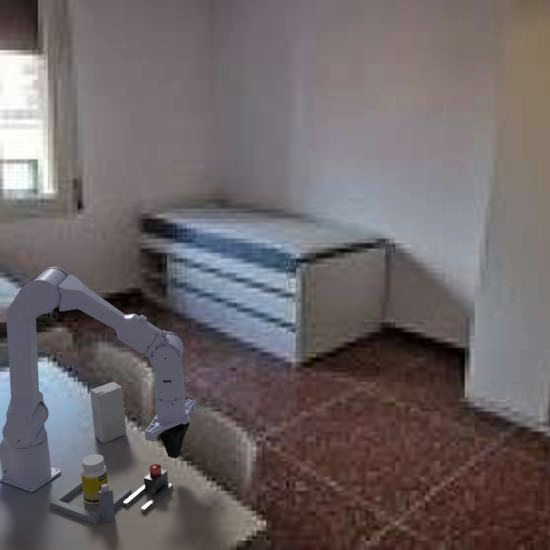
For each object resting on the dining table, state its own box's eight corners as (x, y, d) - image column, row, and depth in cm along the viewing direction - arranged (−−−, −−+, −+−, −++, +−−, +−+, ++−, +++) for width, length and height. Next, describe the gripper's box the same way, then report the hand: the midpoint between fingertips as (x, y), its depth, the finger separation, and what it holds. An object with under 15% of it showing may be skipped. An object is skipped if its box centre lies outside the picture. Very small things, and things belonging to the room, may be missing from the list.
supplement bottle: (103, 506, 127) (100, 467, 125) (79, 504, 128) (75, 465, 126) (112, 491, 132) (109, 453, 130) (89, 490, 133) (85, 452, 130)
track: (123, 505, 128) (123, 502, 127) (152, 481, 135) (152, 477, 135) (144, 513, 125) (144, 509, 125) (173, 487, 133) (172, 484, 133)
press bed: (49, 507, 127) (45, 474, 125) (87, 479, 136) (84, 448, 134) (103, 527, 121) (100, 493, 119) (139, 497, 130) (137, 465, 128)
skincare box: (117, 428, 156) (113, 380, 153) (127, 435, 153) (123, 386, 149) (93, 437, 152) (88, 388, 149) (103, 444, 149) (98, 395, 145)
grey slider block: (145, 493, 131) (143, 470, 130) (157, 482, 135) (156, 460, 133) (155, 497, 130) (154, 473, 129) (168, 486, 134) (166, 463, 132)
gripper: (164, 415, 125) (168, 479, 128) (207, 384, 137) (210, 443, 141) (134, 407, 128) (139, 470, 132) (178, 377, 140) (182, 436, 144)
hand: (173, 456), depth 136 cm, fingers closed
